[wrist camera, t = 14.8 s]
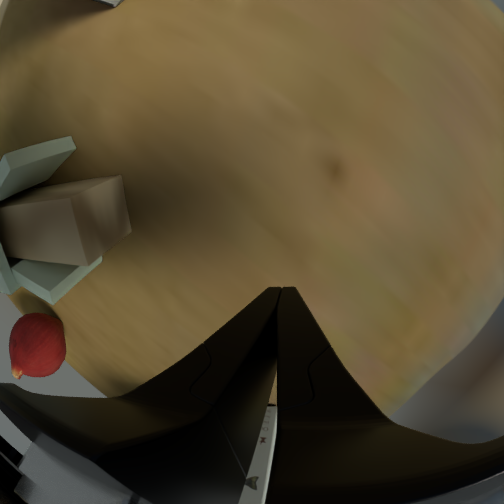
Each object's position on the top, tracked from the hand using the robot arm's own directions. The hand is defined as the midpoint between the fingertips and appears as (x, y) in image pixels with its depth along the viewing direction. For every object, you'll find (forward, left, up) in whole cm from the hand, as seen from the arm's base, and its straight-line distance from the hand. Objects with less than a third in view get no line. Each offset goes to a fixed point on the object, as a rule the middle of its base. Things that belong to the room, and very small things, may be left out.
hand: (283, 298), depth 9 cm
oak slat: (+2, +15, -6) cm, 17 cm away
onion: (-8, +22, -6) cm, 25 cm away
